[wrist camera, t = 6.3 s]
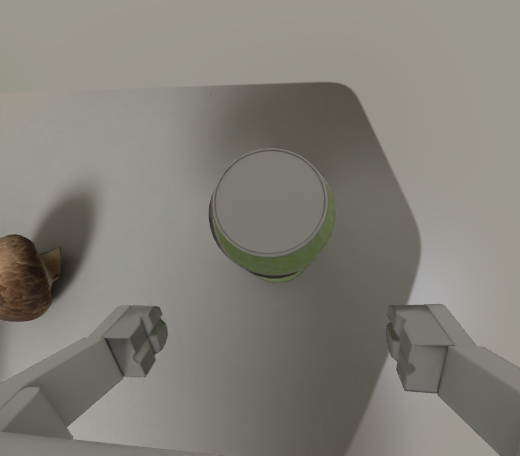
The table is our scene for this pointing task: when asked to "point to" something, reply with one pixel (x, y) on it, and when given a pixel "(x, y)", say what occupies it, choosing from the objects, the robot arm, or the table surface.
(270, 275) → the beverage can
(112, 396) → the table surface
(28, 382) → the robot arm
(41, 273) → the mushroom
